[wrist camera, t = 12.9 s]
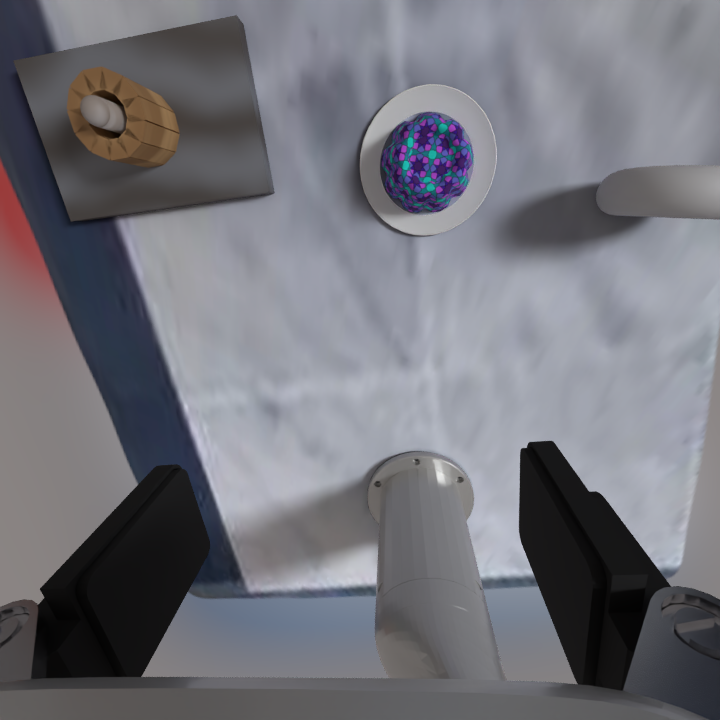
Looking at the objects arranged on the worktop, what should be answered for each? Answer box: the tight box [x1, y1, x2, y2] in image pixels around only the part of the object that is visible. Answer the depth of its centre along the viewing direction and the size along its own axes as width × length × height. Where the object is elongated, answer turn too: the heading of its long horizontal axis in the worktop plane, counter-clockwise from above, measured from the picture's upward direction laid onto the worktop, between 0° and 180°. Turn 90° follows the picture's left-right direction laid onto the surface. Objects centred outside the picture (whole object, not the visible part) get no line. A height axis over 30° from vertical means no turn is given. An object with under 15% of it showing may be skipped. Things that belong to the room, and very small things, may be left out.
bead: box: [67, 67, 180, 168], centre depth 32 cm, size 6×6×5 cm
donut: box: [596, 165, 720, 219], centre depth 30 cm, size 10×4×10 cm, turn 88°
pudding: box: [360, 84, 497, 236], centre depth 33 cm, size 12×12×5 cm
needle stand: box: [14, 15, 274, 221], centre depth 32 cm, size 13×20×8 cm, turn 97°
